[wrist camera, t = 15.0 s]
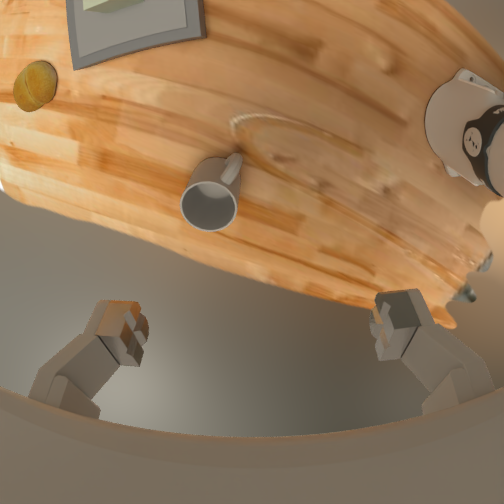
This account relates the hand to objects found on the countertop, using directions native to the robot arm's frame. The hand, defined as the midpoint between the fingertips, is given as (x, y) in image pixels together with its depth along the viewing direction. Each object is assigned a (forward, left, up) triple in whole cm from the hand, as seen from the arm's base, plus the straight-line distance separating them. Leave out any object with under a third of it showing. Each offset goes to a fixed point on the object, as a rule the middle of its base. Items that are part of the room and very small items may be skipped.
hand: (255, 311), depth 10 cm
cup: (+6, +9, -34) cm, 36 cm away
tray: (+15, -20, -34) cm, 42 cm away
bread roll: (+35, -11, -35) cm, 50 cm away
